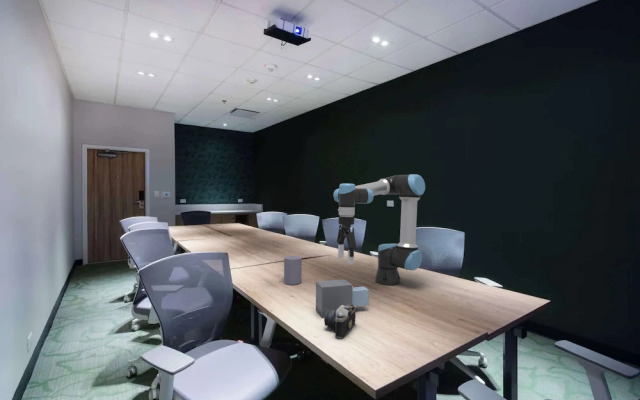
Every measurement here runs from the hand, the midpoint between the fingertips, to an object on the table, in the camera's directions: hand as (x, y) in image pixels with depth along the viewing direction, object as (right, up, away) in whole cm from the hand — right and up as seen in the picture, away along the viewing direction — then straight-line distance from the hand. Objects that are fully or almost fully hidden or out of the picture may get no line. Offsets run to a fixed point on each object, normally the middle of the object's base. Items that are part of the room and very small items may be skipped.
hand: (345, 260), depth 145 cm
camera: (-5, -22, -25) cm, 34 cm away
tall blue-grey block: (+1, -19, -7) cm, 20 cm away
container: (-28, -21, +36) cm, 50 cm away
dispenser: (-6, -22, -9) cm, 24 cm away
